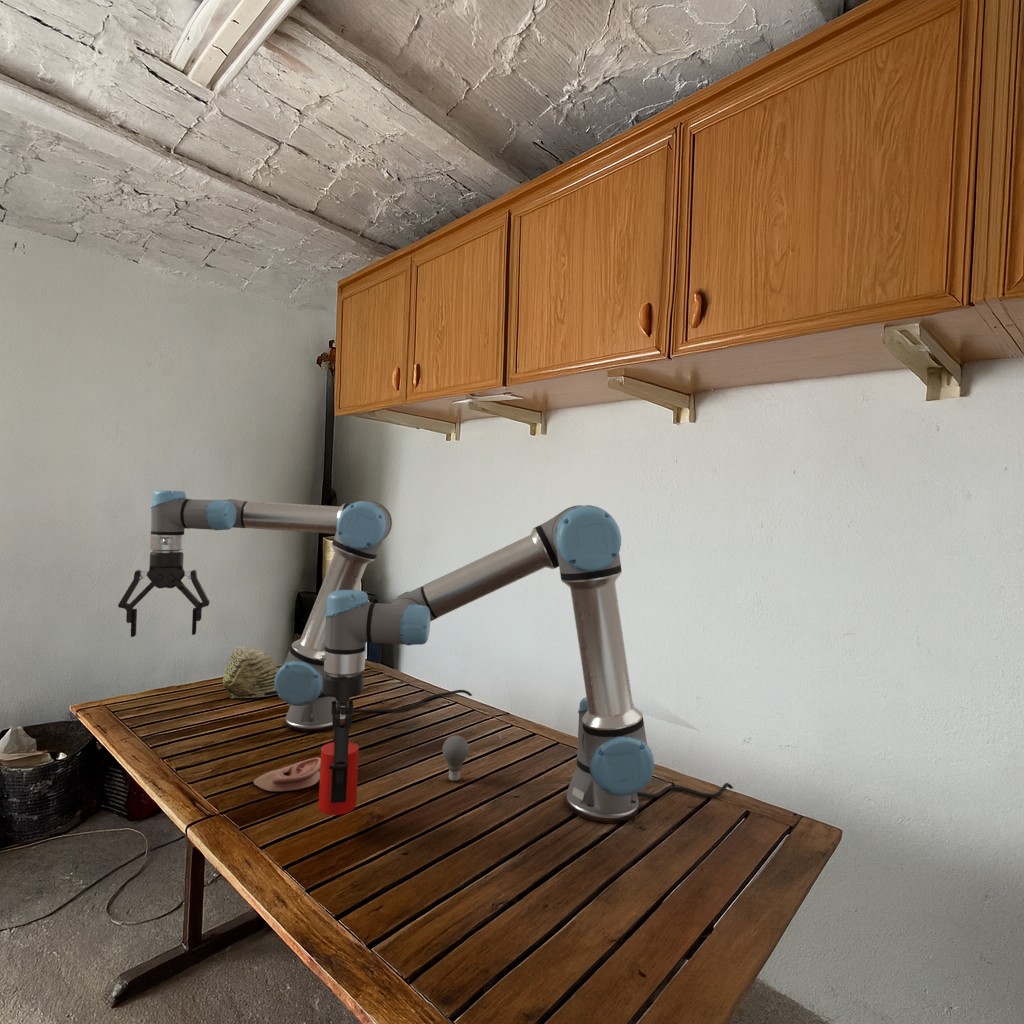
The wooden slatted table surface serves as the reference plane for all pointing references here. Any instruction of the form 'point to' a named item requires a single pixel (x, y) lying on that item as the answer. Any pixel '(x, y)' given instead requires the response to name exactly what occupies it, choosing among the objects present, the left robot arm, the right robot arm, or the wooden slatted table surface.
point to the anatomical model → (291, 776)
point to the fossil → (250, 674)
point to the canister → (326, 780)
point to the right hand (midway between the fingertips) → (338, 791)
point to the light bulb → (455, 755)
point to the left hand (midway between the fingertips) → (164, 634)
